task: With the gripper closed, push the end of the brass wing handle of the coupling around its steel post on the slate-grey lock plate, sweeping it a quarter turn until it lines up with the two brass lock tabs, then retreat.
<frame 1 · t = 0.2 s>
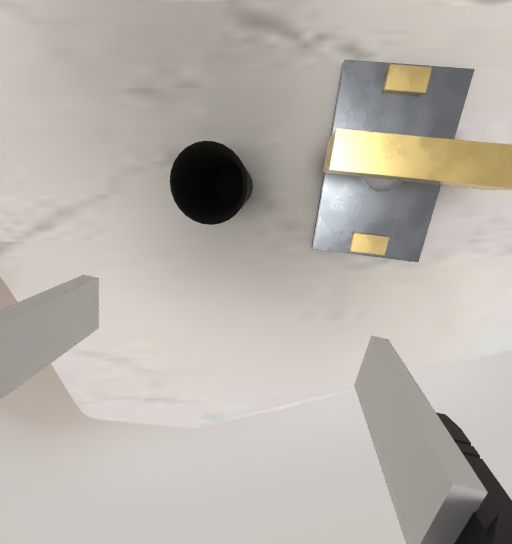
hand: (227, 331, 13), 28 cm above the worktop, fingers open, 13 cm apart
cup: (232, 185, 38), on the worktop
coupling: (413, 162, 26), point 10 cm above the worktop, hinge at 0.0°
lock plate: (381, 169, 35), on the worktop
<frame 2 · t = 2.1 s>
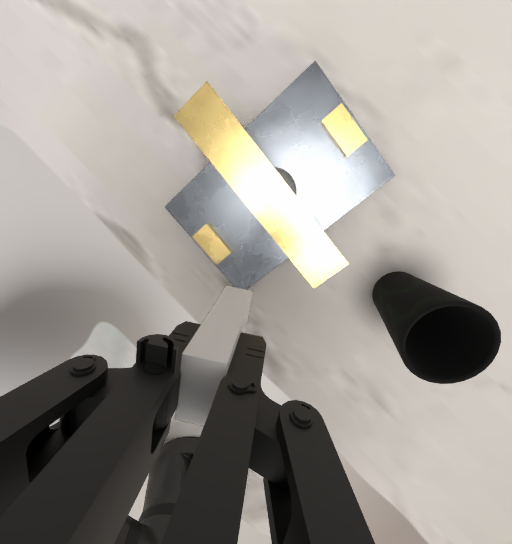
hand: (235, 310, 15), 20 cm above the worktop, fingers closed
cup: (395, 292, 34), on the worktop
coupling: (267, 192, 23), point 10 cm above the worktop, hinge at 0.0°
lock plate: (273, 191, 32), on the worktop
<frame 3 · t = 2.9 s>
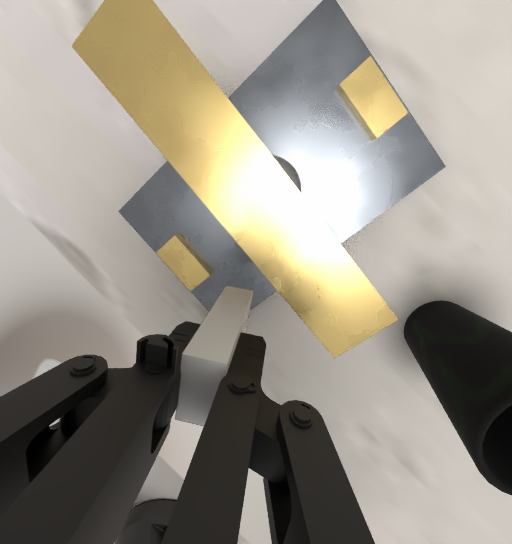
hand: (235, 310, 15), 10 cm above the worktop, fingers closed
cup: (435, 328, 25), on the worktop
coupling: (256, 191, 14), point 10 cm above the worktop, hinge at 0.0°
lock plate: (269, 190, 23), on the worktop
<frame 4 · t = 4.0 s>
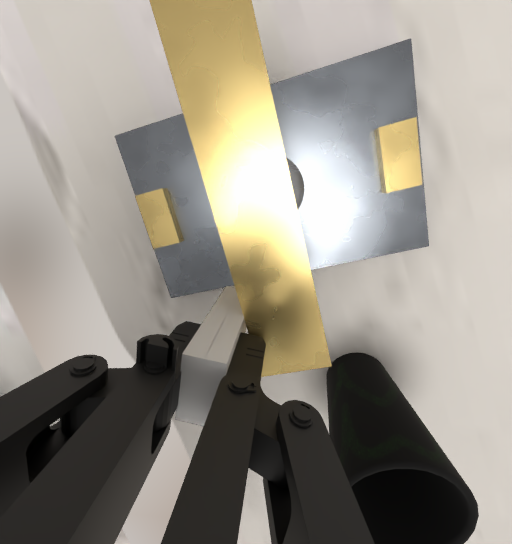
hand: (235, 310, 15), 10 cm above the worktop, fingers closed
cup: (355, 376, 27), on the worktop
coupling: (258, 191, 14), point 10 cm above the worktop, hinge at 0.9°, touching gripper
lock plate: (271, 190, 23), on the worktop
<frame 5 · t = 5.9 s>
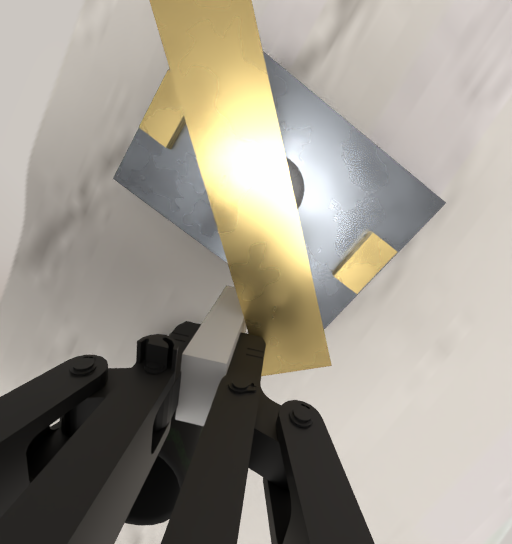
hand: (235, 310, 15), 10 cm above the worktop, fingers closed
cup: (191, 365, 29), on the worktop
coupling: (258, 191, 14), point 10 cm above the worktop, hinge at 51.3°, touching gripper
lock plate: (271, 189, 23), on the worktop
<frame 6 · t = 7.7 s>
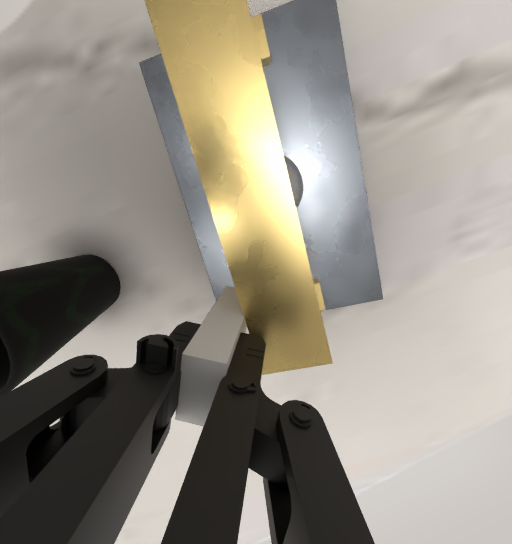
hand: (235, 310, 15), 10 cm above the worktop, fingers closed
cup: (94, 281, 27), on the worktop
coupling: (257, 189, 14), point 10 cm above the worktop, hinge at 90.7°, touching gripper
lock plate: (270, 188, 23), on the worktop
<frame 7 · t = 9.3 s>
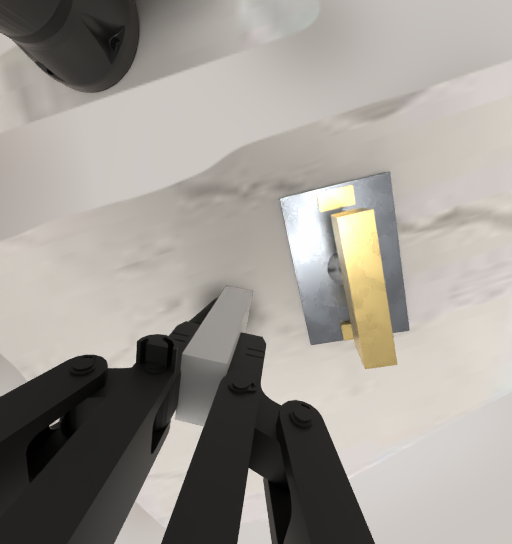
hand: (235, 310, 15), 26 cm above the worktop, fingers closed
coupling: (361, 285, 30), point 10 cm above the worktop, hinge at 90.7°
lock plate: (345, 264, 39), on the worktop
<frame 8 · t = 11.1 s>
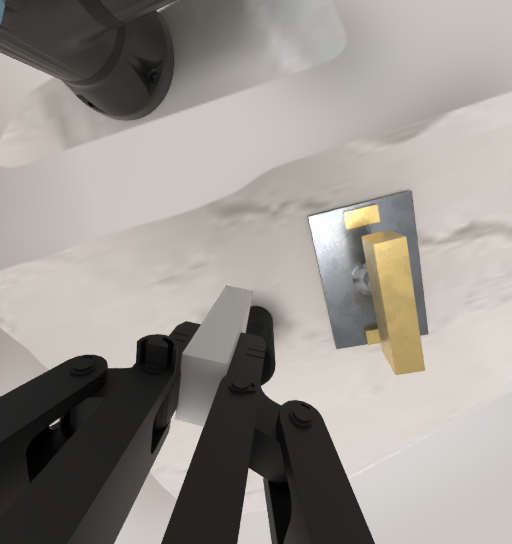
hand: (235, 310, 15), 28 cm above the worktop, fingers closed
cup: (256, 320, 47), on the worktop
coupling: (390, 299, 33), point 10 cm above the worktop, hinge at 90.7°
lock plate: (368, 275, 43), on the worktop
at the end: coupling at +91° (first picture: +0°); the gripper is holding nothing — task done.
